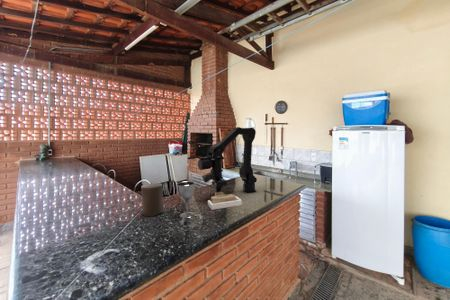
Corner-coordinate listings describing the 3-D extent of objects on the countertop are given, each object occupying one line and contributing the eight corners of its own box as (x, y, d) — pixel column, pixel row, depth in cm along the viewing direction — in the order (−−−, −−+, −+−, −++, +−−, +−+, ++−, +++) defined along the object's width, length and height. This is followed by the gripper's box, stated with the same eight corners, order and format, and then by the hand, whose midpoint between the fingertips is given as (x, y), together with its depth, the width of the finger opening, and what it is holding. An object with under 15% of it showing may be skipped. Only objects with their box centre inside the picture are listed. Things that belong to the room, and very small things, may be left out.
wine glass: (175, 216, 95) (173, 184, 94) (186, 210, 102) (184, 180, 101) (189, 219, 91) (187, 186, 90) (199, 213, 98) (197, 182, 97)
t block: (208, 200, 116) (207, 193, 116) (228, 197, 120) (228, 190, 120) (213, 206, 106) (213, 199, 106) (235, 203, 110) (235, 196, 109)
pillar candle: (157, 217, 96) (155, 185, 95) (138, 216, 98) (136, 184, 97) (167, 209, 105) (165, 180, 104) (149, 208, 107) (148, 180, 106)
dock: (236, 200, 114) (236, 196, 114) (241, 204, 107) (241, 200, 107) (208, 204, 109) (207, 200, 109) (211, 209, 102) (211, 204, 102)
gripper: (199, 166, 124) (200, 192, 126) (206, 172, 107) (207, 201, 108) (217, 165, 128) (218, 189, 129) (227, 170, 110) (228, 198, 111)
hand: (217, 194), depth 119 cm, fingers closed
